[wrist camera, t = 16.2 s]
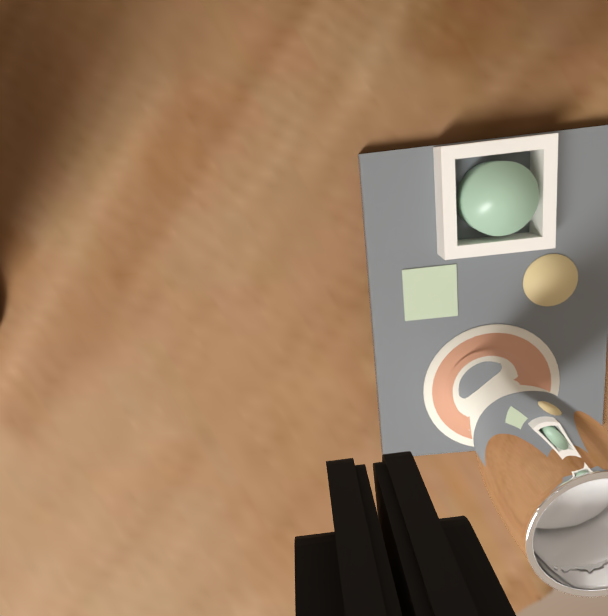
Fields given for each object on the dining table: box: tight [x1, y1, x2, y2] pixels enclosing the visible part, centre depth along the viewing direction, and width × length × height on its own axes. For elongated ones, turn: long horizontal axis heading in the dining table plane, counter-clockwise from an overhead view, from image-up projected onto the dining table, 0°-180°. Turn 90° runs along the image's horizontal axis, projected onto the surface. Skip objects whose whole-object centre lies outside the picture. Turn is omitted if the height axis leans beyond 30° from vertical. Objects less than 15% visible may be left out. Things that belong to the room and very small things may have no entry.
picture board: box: [358, 125, 608, 456], centre depth 35 cm, size 16×22×3 cm
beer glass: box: [446, 348, 608, 597], centre depth 29 cm, size 7×7×15 cm
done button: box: [456, 161, 539, 236], centre depth 32 cm, size 4×4×2 cm
